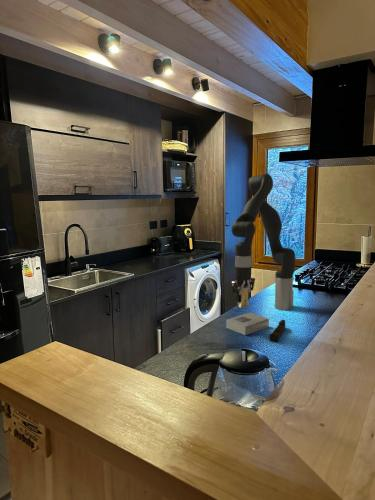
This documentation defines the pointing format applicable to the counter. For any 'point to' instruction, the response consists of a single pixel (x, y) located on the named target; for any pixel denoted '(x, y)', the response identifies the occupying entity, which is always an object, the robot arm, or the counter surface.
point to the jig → (247, 323)
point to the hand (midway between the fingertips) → (243, 301)
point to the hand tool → (277, 332)
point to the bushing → (244, 298)
